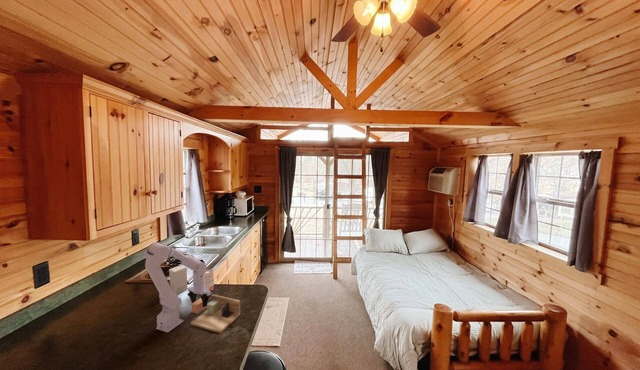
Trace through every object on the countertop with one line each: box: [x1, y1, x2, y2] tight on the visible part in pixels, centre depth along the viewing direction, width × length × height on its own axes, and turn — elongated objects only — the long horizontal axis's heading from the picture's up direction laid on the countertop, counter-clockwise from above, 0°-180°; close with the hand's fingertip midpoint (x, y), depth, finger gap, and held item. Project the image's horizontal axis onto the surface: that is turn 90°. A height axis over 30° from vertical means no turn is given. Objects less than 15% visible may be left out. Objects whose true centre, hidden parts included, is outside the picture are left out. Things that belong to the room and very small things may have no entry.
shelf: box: [190, 293, 241, 334], centre depth 131 cm, size 16×18×8 cm
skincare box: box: [168, 264, 189, 296], centre depth 158 cm, size 8×7×16 cm
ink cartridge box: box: [200, 268, 215, 296], centre depth 159 cm, size 9×5×15 cm, turn 143°
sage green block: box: [206, 299, 220, 314], centre depth 137 cm, size 5×4×5 cm
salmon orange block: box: [191, 297, 207, 314], centre depth 140 cm, size 7×4×5 cm, turn 162°
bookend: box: [221, 303, 234, 318], centre depth 134 cm, size 5×4×5 cm
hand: (199, 305), depth 140 cm, fingers open, 7 cm apart
